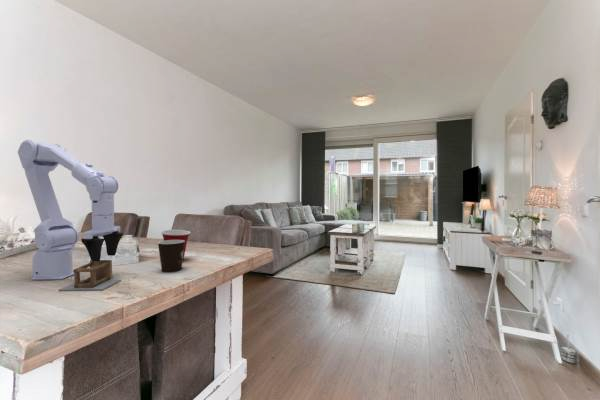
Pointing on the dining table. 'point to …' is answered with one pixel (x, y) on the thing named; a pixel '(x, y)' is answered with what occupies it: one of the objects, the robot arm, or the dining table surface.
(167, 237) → the plastic cup
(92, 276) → the stool
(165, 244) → the coffee mug
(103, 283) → the felt mat
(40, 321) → the dining table surface
